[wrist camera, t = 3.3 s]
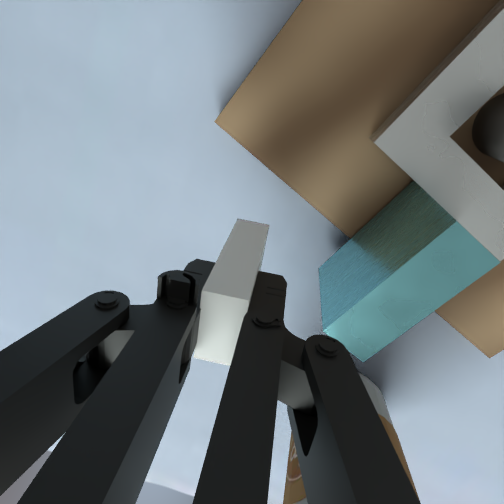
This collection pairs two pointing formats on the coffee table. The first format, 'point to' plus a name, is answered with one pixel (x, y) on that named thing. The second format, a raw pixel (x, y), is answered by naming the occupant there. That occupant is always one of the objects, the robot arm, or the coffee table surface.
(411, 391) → the coffee table surface
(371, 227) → the flange
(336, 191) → the post base
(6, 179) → the coffee table surface
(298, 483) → the coffee cup
